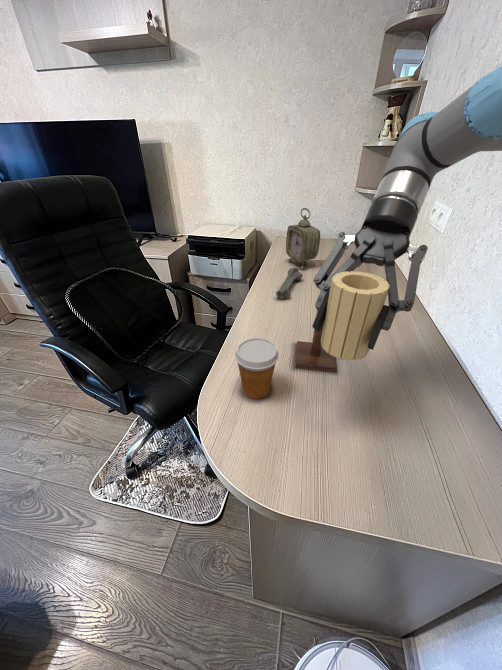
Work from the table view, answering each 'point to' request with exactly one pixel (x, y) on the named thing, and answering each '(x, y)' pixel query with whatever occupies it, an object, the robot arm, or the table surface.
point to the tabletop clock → (302, 241)
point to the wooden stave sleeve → (352, 313)
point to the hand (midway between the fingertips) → (341, 337)
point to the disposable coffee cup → (256, 366)
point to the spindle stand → (314, 354)
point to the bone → (288, 283)
